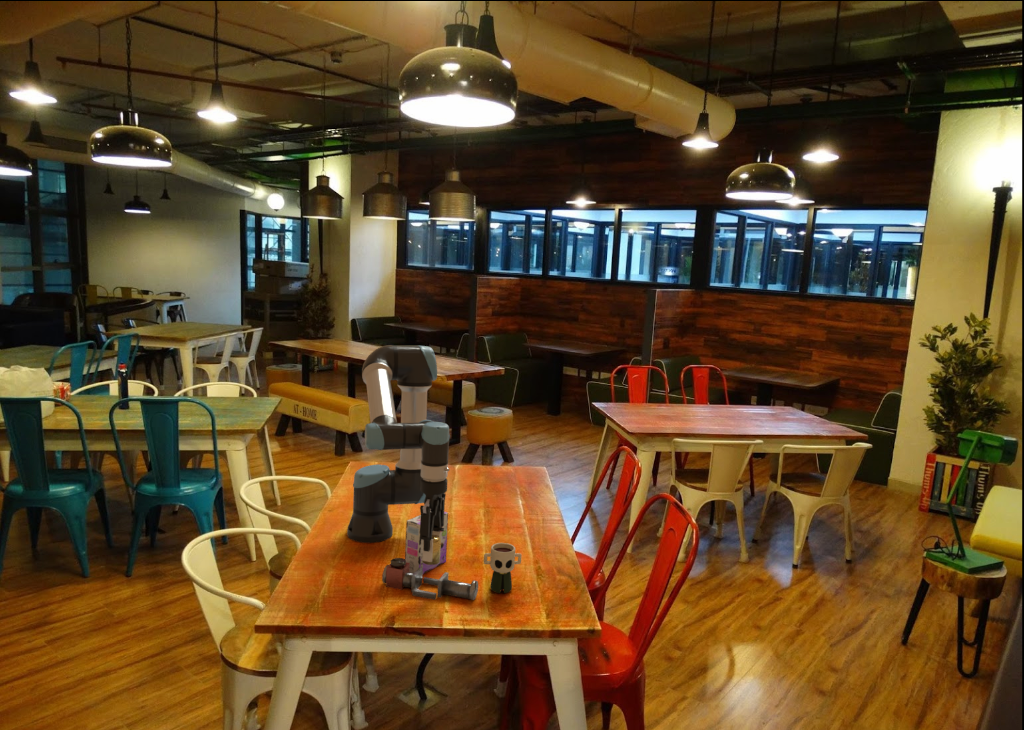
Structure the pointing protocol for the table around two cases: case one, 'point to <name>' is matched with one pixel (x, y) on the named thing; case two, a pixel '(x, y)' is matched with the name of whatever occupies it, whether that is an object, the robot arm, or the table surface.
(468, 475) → the table surface
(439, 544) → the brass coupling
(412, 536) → the candy box
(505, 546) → the character mug
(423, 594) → the pipe run
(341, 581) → the table surface
